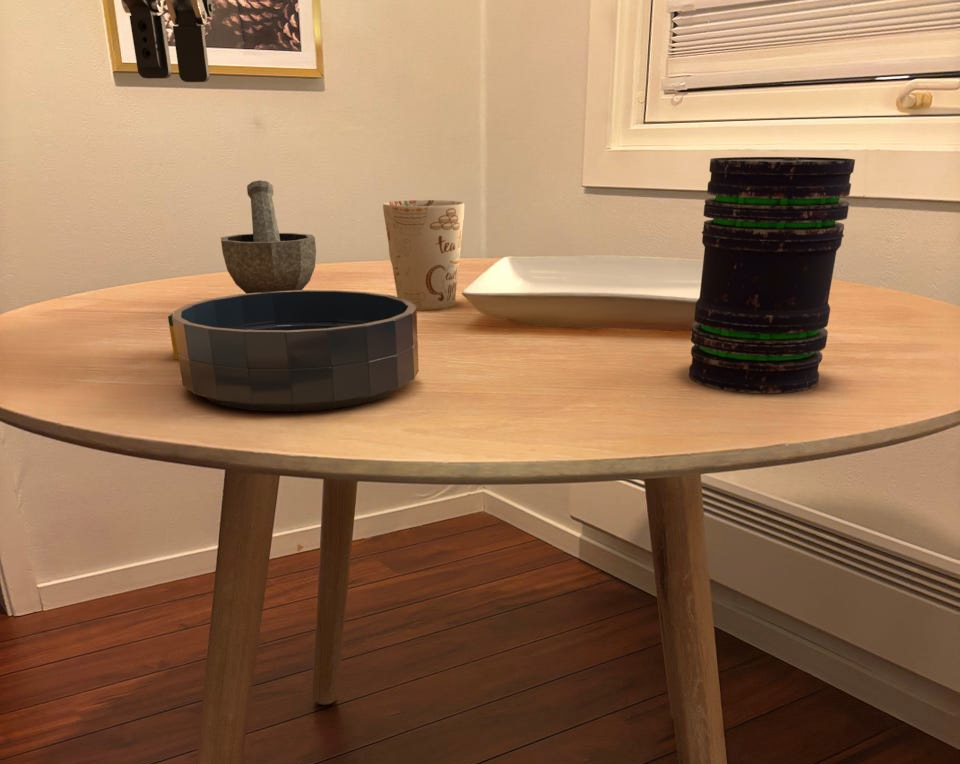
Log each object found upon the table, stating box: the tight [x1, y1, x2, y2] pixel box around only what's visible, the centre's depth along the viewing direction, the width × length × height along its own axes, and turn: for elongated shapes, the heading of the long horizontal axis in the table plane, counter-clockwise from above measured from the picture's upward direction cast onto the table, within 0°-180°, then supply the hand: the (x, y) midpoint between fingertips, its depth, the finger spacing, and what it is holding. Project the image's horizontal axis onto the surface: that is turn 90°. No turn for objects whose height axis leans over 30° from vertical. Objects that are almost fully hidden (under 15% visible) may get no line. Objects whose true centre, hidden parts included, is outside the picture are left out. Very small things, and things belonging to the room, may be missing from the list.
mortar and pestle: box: [220, 179, 317, 294], centre depth 98 cm, size 11×9×12 cm
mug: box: [382, 199, 465, 311], centre depth 101 cm, size 8×13×10 cm, turn 33°
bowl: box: [172, 289, 420, 412], centre depth 70 cm, size 17×17×6 cm
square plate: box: [461, 255, 704, 332], centre depth 97 cm, size 27×27×4 cm
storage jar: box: [688, 156, 856, 394], centre depth 69 cm, size 10×10×15 cm
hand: (176, 80), depth 71 cm, fingers open, 8 cm apart
